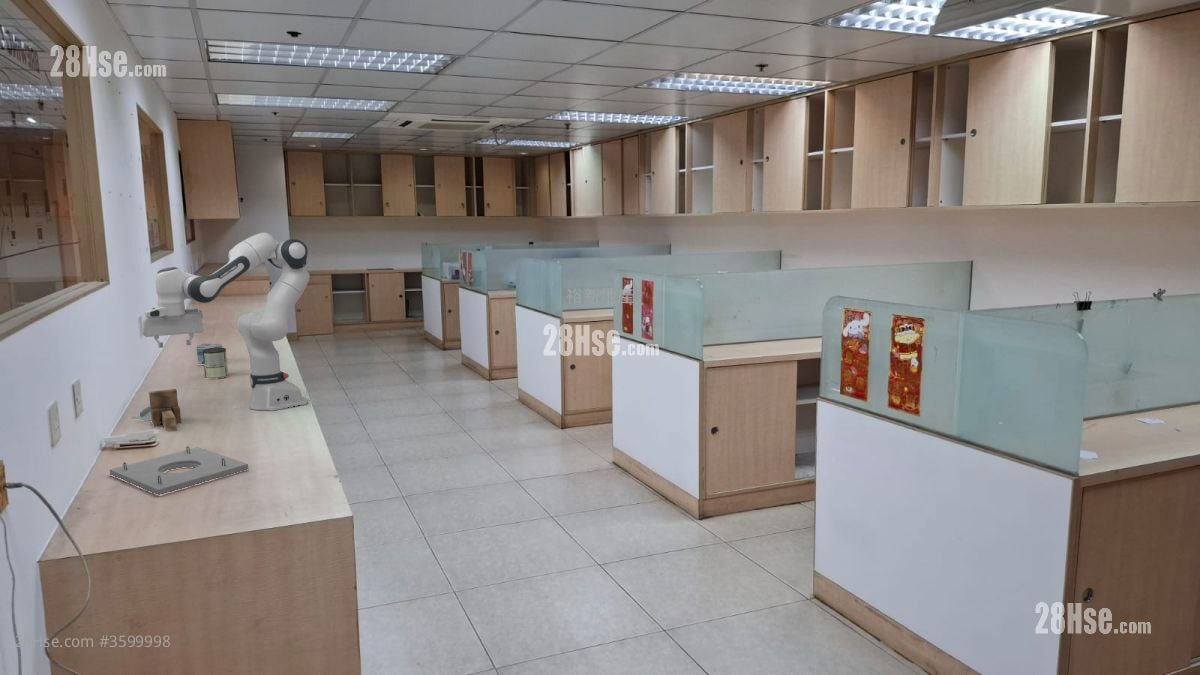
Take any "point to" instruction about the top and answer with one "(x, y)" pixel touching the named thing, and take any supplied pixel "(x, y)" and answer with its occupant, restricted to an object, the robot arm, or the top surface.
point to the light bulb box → (202, 347)
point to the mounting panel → (159, 483)
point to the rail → (168, 419)
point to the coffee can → (215, 363)
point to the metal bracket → (144, 415)
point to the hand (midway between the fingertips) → (175, 346)
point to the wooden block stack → (164, 405)
